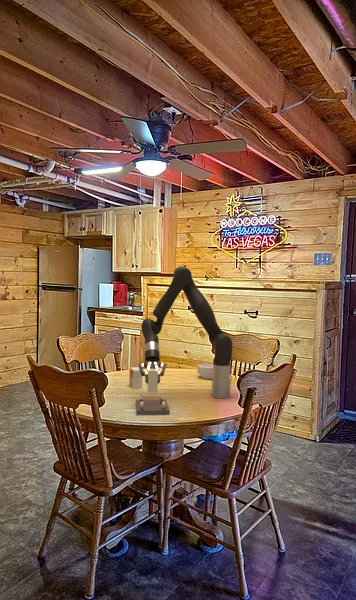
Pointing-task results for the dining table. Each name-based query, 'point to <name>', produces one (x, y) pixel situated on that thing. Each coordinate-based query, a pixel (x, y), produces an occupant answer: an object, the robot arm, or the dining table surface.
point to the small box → (135, 378)
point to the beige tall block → (152, 380)
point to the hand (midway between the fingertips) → (152, 382)
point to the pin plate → (152, 406)
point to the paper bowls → (205, 371)
